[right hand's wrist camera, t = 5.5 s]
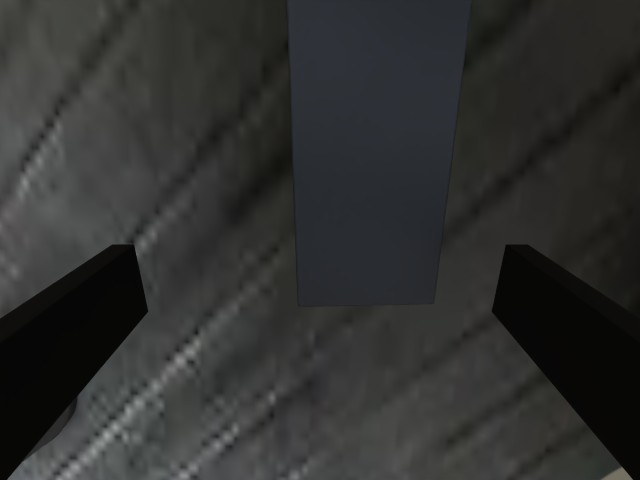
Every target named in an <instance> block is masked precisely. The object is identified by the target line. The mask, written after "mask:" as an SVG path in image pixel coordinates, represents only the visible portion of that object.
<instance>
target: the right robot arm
mask: <svg viewBox="0 0 640 480" xmlns="http://www.w3.org/2000/svg"><path fill="white" fill-rule="evenodd" d="M147 312H148V308H147V303H146V299H145V294H144V289H143V285H142V280H141V275H140V270H139V266H138V261H137V256H136V252H135V247H134V245H111V246H109V247H108V248H106V249H105V250H103V251H102V252H100V253H99V254H97V255H96V256H94V257H93V258H91V259H90V260H88V261H87V262H85V263H84V264H82V265H81V266H79V267H78V268H76V269H75V270H73V271H72V272H70V273H69V274H67V275H66V276H64V277H63V278H61V279H60V280H58V281H57V282H55V283H54V284H52V285H51V286H49V287H48V288H46V289H44V290H43V291H41V292H40V293H38V294H37V295H35V296H34V297H32V298H31V299H29V300H28V301H26V302H25V303H23V304H22V305H20V306H19V307H17V308H16V309H14V310H13V311H11V312H10V313H8V314H7V315H5V316H4V317H2V318H1V319H0V480H7V479H8V478H9V477H10V475H11V474H12V473H13V472H14V471H15V469H16V468H17V467H18V466H19V465H20V464H21V462H23V461H24V460H25V459H27V458H28V457H29V456H31V455H32V454H33V453H35V452H36V451H37V450H38V449H40V448H41V447H42V446H44V445H46V444H47V443H48V442H50V441H51V440H53V439H54V438H55V437H56V436H57V435H58V434H59V433H60V431H61V430H62V429H63V428H64V426H65V425H66V424H67V422H68V421H69V420H70V419H71V417H72V415H73V413H74V411H75V407H76V397H77V396H78V394H79V393H80V392H81V391H82V390H83V389H84V387H85V386H86V385H87V384H88V383H89V381H90V380H91V379H92V378H93V377H94V375H95V374H96V373H97V372H98V371H99V369H100V368H101V367H102V366H103V365H104V364H105V362H106V361H107V360H108V359H109V358H110V356H111V355H112V354H113V353H114V352H115V350H116V349H117V348H118V347H119V346H120V345H121V343H122V342H123V341H124V340H125V339H126V337H127V336H128V335H129V334H130V333H131V331H132V330H133V329H134V328H135V327H136V325H137V324H138V323H139V322H140V321H141V320H142V318H143V317H144V316H145V315H146V314H147ZM492 312H493V314H494V315H495V316H496V317H497V318H498V320H499V321H500V322H501V323H502V324H503V325H504V327H505V328H506V329H507V330H508V331H509V333H510V334H511V335H512V336H513V337H514V339H515V340H516V341H517V342H518V343H519V345H520V346H521V347H522V348H523V349H524V350H525V352H526V353H527V354H528V355H529V356H530V358H531V359H532V360H533V361H534V362H535V364H536V365H537V366H538V367H539V368H540V369H541V371H542V372H543V373H544V374H545V375H546V377H547V378H548V379H549V380H550V381H551V383H552V384H553V385H554V386H555V387H556V389H557V390H558V391H559V392H560V393H561V394H562V396H563V397H564V398H565V399H566V400H567V402H568V403H569V404H570V405H571V406H572V408H573V409H574V410H575V411H576V412H577V414H578V415H579V416H580V417H581V418H582V419H583V421H584V422H585V423H586V424H587V425H588V427H589V428H590V429H591V430H592V431H593V433H594V434H595V435H596V436H597V437H598V439H599V440H600V441H601V442H602V443H603V444H604V446H605V447H606V448H607V449H608V450H609V452H610V453H611V454H612V455H613V456H614V458H615V459H616V460H617V461H618V462H619V464H620V465H621V466H622V467H623V468H624V469H625V471H626V472H627V473H628V474H629V475H630V477H631V478H632V479H633V480H640V319H639V318H638V317H636V316H635V315H633V314H632V313H630V312H629V311H627V310H626V309H624V308H623V307H621V306H620V305H618V304H617V303H615V302H614V301H612V300H611V299H609V298H608V297H606V296H605V295H603V294H602V293H600V292H599V291H597V290H596V289H594V288H592V287H591V286H589V285H588V284H586V283H585V282H583V281H582V280H580V279H579V278H577V277H576V276H574V275H573V274H571V273H570V272H568V271H567V270H565V269H564V268H562V267H561V266H559V265H558V264H556V263H555V262H553V261H552V260H550V259H549V258H547V257H546V256H544V255H543V254H541V253H540V252H538V251H537V250H535V249H534V248H532V247H531V246H529V245H506V247H505V252H504V256H503V261H502V266H501V270H500V275H499V280H498V285H497V289H496V294H495V299H494V303H493V308H492Z"/></svg>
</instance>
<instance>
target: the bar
mask: <svg viewBox="0 0 640 480" xmlns="http://www.w3.org/2000/svg"><path fill="white" fill-rule="evenodd" d="M286 5H287V32H288V59H289V85H290V112H291V139H292V165H293V192H294V219H295V245H296V272H297V299H298V306H299V307H314V306H362V305H410V304H434V300H435V292H436V284H437V276H438V268H439V260H440V252H441V244H442V236H443V228H444V220H445V212H446V204H447V196H448V188H449V180H450V172H451V164H452V156H453V148H454V140H455V132H456V124H457V116H458V108H459V100H460V92H461V84H462V76H463V69H464V61H465V53H466V45H467V37H468V29H469V21H470V13H471V5H472V0H286Z"/></svg>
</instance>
